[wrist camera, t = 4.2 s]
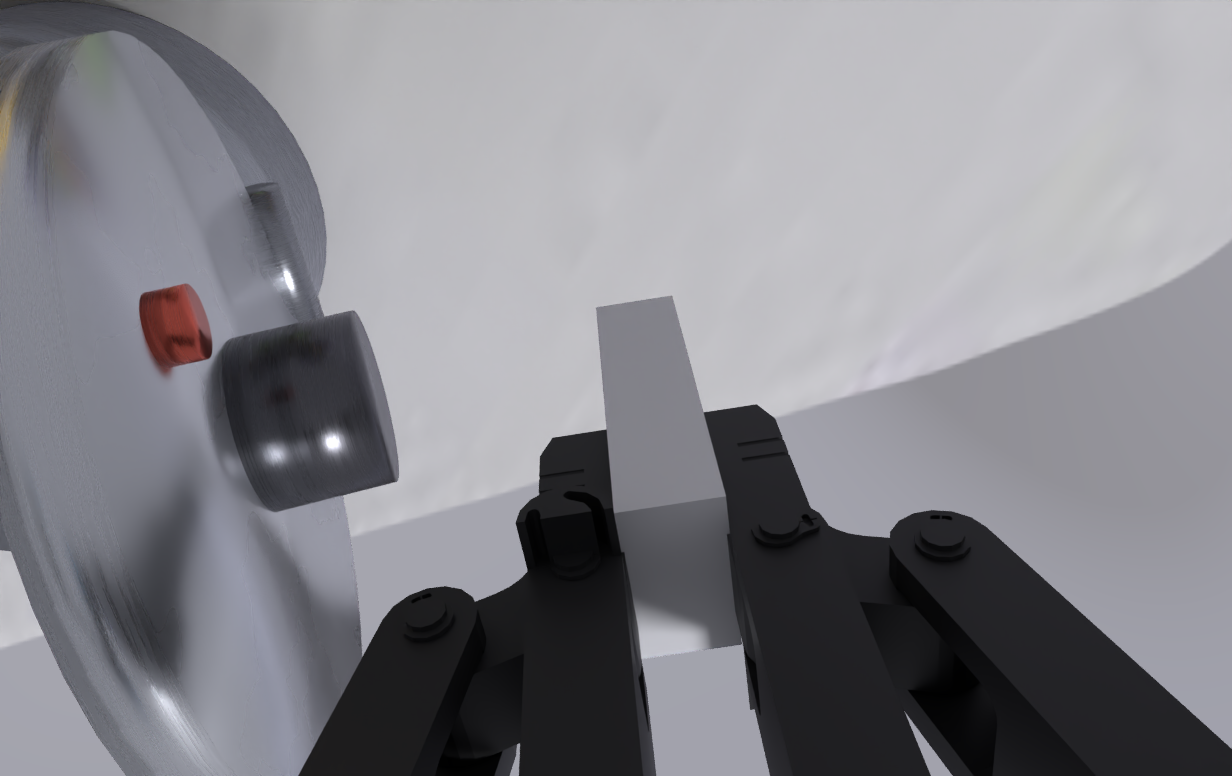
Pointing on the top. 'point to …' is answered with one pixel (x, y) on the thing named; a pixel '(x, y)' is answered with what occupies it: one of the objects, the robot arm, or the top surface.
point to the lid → (172, 425)
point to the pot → (237, 118)
